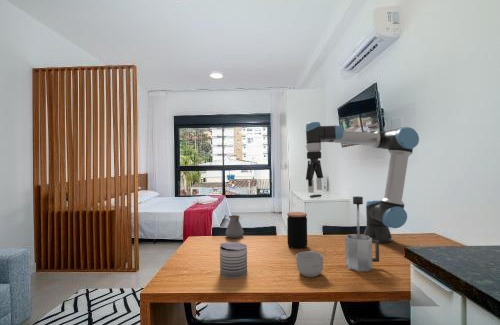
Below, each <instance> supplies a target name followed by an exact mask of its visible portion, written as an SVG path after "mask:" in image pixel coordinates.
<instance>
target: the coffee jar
mask: <svg viewBox="0 0 500 325" xmlns="http://www.w3.org/2000/svg"><path fill="white" fill-rule="evenodd" d="M286 215H287V218H286V223H287V224H286V225H287V226H286V227H287V245H288V247H289V248H290V249H292V250H293V249H295V250H304V249H305V248H307V247H308V217H307V215H308V213H307V212H301V211H291V212H288V213H287V214H286Z"/></svg>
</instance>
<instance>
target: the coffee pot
mask: <svg viewBox="0 0 500 325" xmlns="http://www.w3.org/2000/svg"><path fill="white" fill-rule="evenodd" d="M228 218H229V219H230V220H229V222H228V225H227V227H226V230H225V235H226V236H227V237H228V238H230V239H238V238H242V236H243V235H244V232H245V231H244V229H243V226H242V224H241V222H240V215H235V214H233V215H229V216H228Z"/></svg>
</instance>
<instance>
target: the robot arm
mask: <svg viewBox="0 0 500 325" xmlns="http://www.w3.org/2000/svg"><path fill="white" fill-rule="evenodd" d="M305 137H306V139H305V140H306V146H305V148H306V151H307V152H306V159H308V160H307V167H306V174H305V180H306V181H307V190H308V191H307V192H308V193H313V194H314V192H315V188H314V187H315V185H314V176H316V179H315V180H316V182H315V183H316V190H317V191H322V190H323V185H322V184H323V180H322V179H323V178H324V176H323V175H324V174H323V169H322V164H321V163H322V162H321V160H320V159H322V143H337V144H349V145H357V146H358V145H360V146H372V147H373V148H374V149H384V150H388V153H389V154H390V158H389V163H388V171H387V176H386V183H385V191H384V197H383V198H382V199H380V200H367V201H366V206H365V209H366V210H365V212H366V215H365V216H366V225H365V226H366V227H365V229H364V233H363V235H366V236H369V237H371V238H372V240H378V241H379V244H380V243H381V244H385V243H391V242H392V241H393V237H392V234H391V232H390V229H391V228H392V229H398V228H402V226H404V225H405V224H406V222H407V221H408V213H407V211H406V210H405V202H403V194H404V189H405V182H406V175H407V170H408V169H407V168H408V162H409V157H410V156H411V155H412V154H413V151H414V150H413V149H414V148H416V147H417V146H418V145H419V142H420V137H419V134H418V132H417V130H415V129H414V128H412V127H409V126H408V127H407V126H406V127H405V126H404V127H399V128H395V129H390V130H386V131H385V130H383V131H377V130H376V131H375V132H368V131H357V130H356V131H355V130H344V128H343V126H342V125H336V124H335V125H321V123H320V122H319V121H310V122H307V123H306V125H305ZM314 174H315V175H314ZM389 228H390V229H389Z"/></svg>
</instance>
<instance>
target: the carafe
mask: <svg viewBox="0 0 500 325" xmlns="http://www.w3.org/2000/svg"><path fill="white" fill-rule="evenodd" d="M344 238H345V243H344V244H345V246H344V247H345V267H346V268H347V269H348V270H351V271H353V272H354V271H355V272H361V273H363V272H364V273H365V272H368V273H369V272H370V271H372V270H373V263H379V262H380V243H379V241H378V240H372V238H371V237H369V236H366V235H364V234H360V239H364V240H355V239H353V238H357V233H356V234H355V233H353V234H347V235H345V236H344ZM373 244H374V249H375V250H374V252H375V254H374V256H375V257H374V258H373Z"/></svg>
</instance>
